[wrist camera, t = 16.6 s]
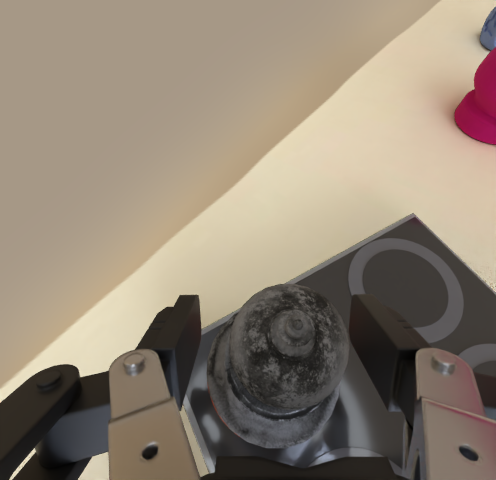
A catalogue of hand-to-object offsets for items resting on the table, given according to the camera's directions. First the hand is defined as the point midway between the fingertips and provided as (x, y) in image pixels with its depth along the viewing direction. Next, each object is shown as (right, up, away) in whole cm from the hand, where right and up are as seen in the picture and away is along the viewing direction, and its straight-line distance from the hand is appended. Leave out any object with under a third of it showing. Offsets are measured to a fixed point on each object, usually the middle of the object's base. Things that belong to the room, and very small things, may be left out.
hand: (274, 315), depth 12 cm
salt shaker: (0, -4, +4) cm, 6 cm away
